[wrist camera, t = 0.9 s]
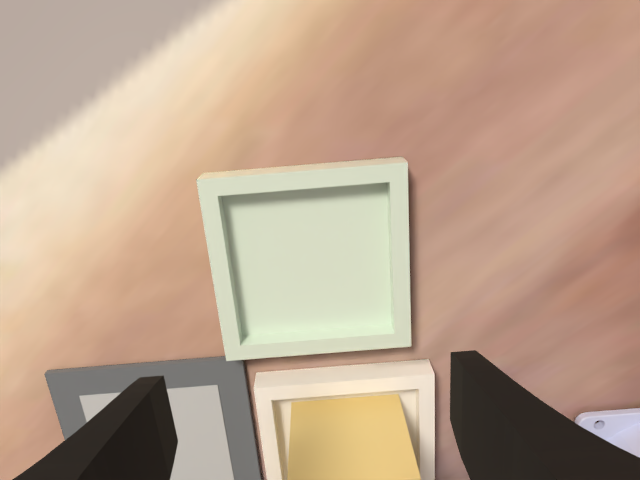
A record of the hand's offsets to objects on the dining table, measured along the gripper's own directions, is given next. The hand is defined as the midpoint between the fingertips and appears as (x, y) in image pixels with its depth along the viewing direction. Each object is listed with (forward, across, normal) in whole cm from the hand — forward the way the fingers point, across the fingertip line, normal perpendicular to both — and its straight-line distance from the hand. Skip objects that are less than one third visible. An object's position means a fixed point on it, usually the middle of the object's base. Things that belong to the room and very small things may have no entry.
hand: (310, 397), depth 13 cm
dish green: (+9, 0, 0) cm, 9 cm away
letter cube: (+9, -1, +10) cm, 13 cm away
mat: (+9, +8, +9) cm, 15 cm away
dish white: (+9, -1, +10) cm, 13 cm away
